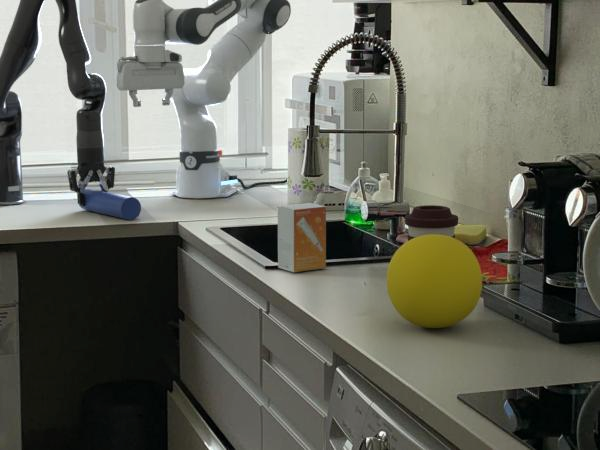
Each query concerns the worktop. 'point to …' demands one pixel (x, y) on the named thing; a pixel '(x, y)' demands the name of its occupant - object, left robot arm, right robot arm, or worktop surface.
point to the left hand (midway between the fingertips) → (93, 204)
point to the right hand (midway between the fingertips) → (151, 106)
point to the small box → (301, 237)
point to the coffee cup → (431, 221)
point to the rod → (112, 204)
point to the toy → (434, 281)
